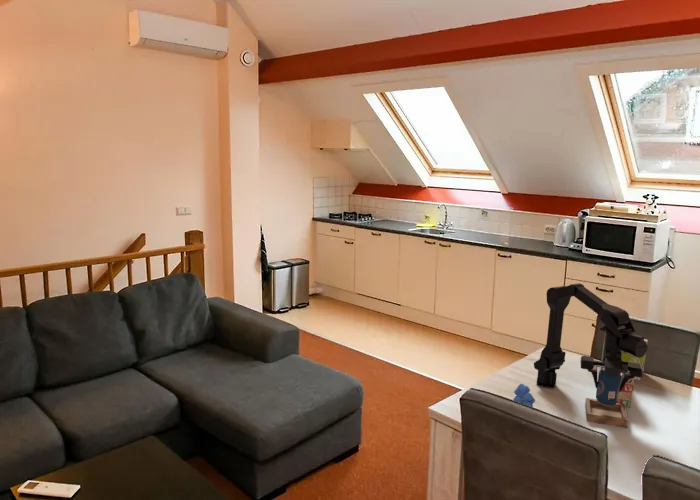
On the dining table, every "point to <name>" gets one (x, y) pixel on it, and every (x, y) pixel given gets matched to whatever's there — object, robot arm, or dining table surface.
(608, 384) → the soda can
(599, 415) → the brown open box
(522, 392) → the grapes
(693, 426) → the dining table surface
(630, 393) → the stack of blocks
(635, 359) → the tea box
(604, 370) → the robot arm
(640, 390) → the dining table surface
